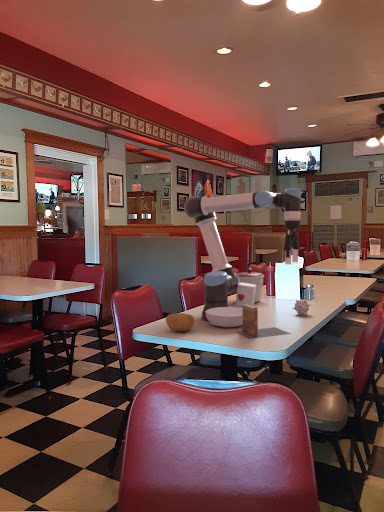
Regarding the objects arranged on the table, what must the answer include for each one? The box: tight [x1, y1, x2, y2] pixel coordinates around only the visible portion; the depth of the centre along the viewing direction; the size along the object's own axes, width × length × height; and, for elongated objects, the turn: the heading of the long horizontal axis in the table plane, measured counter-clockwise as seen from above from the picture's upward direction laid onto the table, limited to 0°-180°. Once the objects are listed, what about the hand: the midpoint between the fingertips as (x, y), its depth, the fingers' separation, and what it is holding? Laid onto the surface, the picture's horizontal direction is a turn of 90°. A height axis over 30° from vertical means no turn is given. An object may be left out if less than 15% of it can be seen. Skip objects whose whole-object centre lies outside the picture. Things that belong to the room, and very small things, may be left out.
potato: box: [165, 312, 196, 333], centre depth 181 cm, size 10×14×8 cm
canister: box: [236, 267, 265, 304], centre depth 253 cm, size 18×18×21 cm
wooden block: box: [242, 304, 259, 337], centre depth 171 cm, size 2×9×12 cm, turn 20°
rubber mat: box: [235, 326, 292, 340], centre depth 174 cm, size 20×13×1 cm, turn 110°
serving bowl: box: [205, 306, 243, 328], centre depth 189 cm, size 21×21×7 cm
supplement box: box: [234, 283, 256, 308], centre depth 219 cm, size 9×9×15 cm
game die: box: [292, 298, 311, 316], centre depth 211 cm, size 9×8×10 cm
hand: (291, 263), depth 201 cm, fingers open, 13 cm apart
